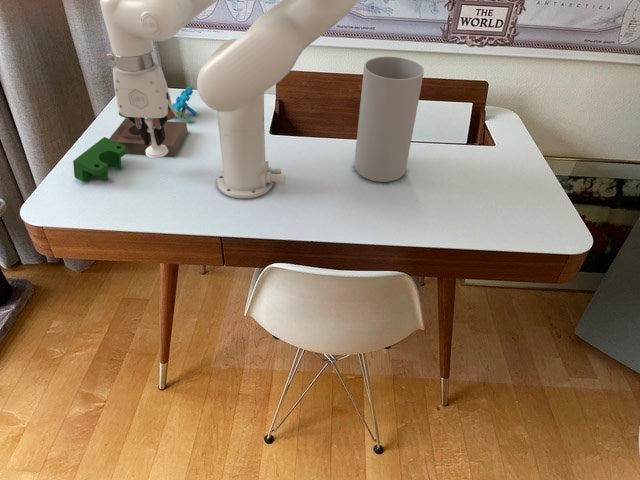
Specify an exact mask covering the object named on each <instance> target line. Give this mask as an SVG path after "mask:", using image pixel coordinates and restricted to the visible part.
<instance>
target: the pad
mask: <svg viewBox="0 0 640 480" xmlns="http://www.w3.org/2000/svg"><path fill="white" fill-rule="evenodd" d="M154 127H155V124H154ZM163 127H164V132H165V140H164V141H163V143H162V145H165V146H166V147H167V149H168V153H167V154H166V155H165V156H164V157H172V158H173V157H176V156H177V154H178V151H179V150H180V148H181V146H182V144H183V143H184V141H185V139H186V137H187V135H188V133H189V131H188V124H187V122H186V121H185V122H184V121H183V122H182V121H172V120H168V121H167V122H166V123H165V124H164V125H163ZM108 139H110V140H113V141H115V142H118V143H120V144H122V145H124V146H125V154H129V155H132V154H133V155H145V156H147V155H146V149H147V148H148V147H149V146H151V142H150V143H149V145H145V144H144V140H142V137H141V133H140V130H139V129H138V128H137V127H136V125H135V124H134V123H133V122H132V121H130V120H129V119H127V118H124V119H123V121H122V122H121V123H120V124H119V126H118V127H117V128H116V129H115V131H114V132H113V133H112V135H111V136H110V137H109V138H108Z"/></svg>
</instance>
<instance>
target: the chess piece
mask: <svg viewBox="0 0 640 480" xmlns="http://www.w3.org/2000/svg"><path fill="white" fill-rule="evenodd" d="M145 123H146V124H147V126H148V127H149V128H148V129H147V132H149V133H150V136H151V146H149V147H148V148H147V149H146V155H145V156H146V157H148V158H151V159H158V158H162V157H166V156H165V155H166V154H167V153H168V149H167V147H166V146H165V145H162V144H161V146H158V145H157V143H156V139H155V135H154V129H155V127H154V120H153V118H145Z"/></svg>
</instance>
